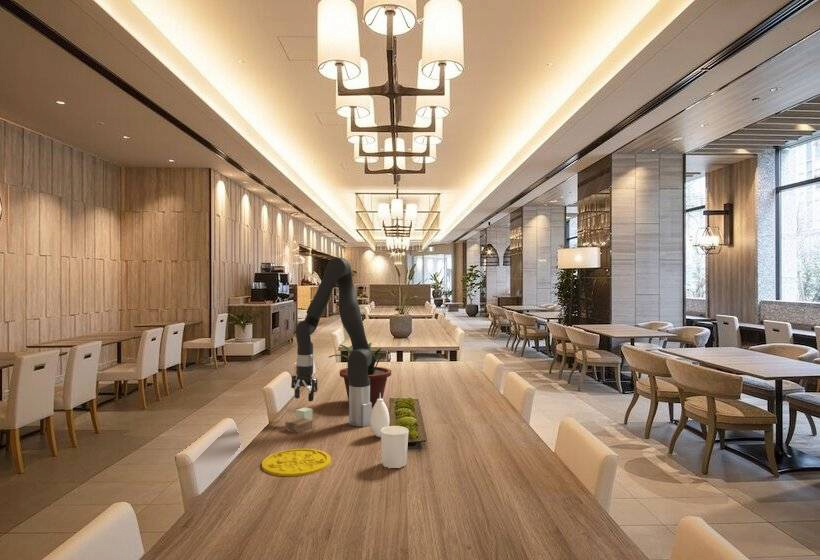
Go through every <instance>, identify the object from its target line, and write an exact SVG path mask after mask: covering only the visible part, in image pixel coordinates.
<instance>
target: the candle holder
mask: <svg viewBox="0 0 820 560" xmlns="http://www.w3.org/2000/svg"><path fill="white" fill-rule="evenodd" d="M409 432H410V430H409V429H408V428H407V427H406V426H400V425H389V426H387V427H384V428H382V429H381V437H380V442H381V462H382V463H381V464H382V466H383V467H384V468H386V467H388V468H387V469H390V468H399V469H401V468H400V467H403V466H404V467H405V465H407V460H408V459H407V458H408V447H409V446H408V442H409ZM404 467H403V468H404Z"/></svg>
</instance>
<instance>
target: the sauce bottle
mask: <svg viewBox="0 0 820 560" xmlns="http://www.w3.org/2000/svg"><path fill="white" fill-rule="evenodd" d="M369 425H370V429H371V432H372V433H373V435H374V436H376V437H377V438H381V429H382V428H384V427H387V426H390V413H389V410H388V407H387V405H386V403H385V402H384V398H383V399H381V394H380V398H379V399H377V402H376V403H375V405H374V407H373V408H372V413H371V418H370V424H369Z"/></svg>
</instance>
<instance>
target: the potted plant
mask: <svg viewBox="0 0 820 560" xmlns="http://www.w3.org/2000/svg"><path fill="white" fill-rule="evenodd" d="M368 345H369V348H370V349H371V347H372V342H369V343H368ZM339 346H340V347H342V348H344V349H345V350H346V351H347V352H348V355H349V354H350V353H351V352H352V351H353V349H350V348H352V345H350V346H349V347H350V348H348V347H347V346H346V345H345V344H339ZM381 349H382V348H379V349H377V350H376V351H375V352H374V353H373V354H372V353H371V354H372V362H371V364H370V365H369V366H368V378H369V379H370V402H372V409H373V407H374V405H375V403H376V402H377V399H379V398H380V394H381V399H383V400H384V395H385V389H386V385H387V381H388V378H389V377H391V376H392V369H390V368H387V367H383V366H378V364H379V362H380V360H381V359H382V357H384V356H385V355H386V354H390V353H391V352H389V351H386V352H384V353H382V354H380V355H378V354H379V352H380V351H381ZM377 355H378V356H377ZM332 357H344V358H346V359H348V357H349V356H347V355H344V354H333V355H330V356H328V358H332ZM339 376H340V377H341V378H343V380H344V385H345V386H344V387H345V391H346V395H347V400H348V402H349V379H348V367H346V368H343V369H340V370H339Z"/></svg>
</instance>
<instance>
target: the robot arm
mask: <svg viewBox="0 0 820 560" xmlns="http://www.w3.org/2000/svg"><path fill="white" fill-rule="evenodd" d="M352 272H353V271H352V266H351V264H350V262H349V260H347V259H346V258H344V257H343V258H342V257H335V256H334V257H333V258H331V259H330V260H329V261H327V264H326V267H325V270H324V274H323V276H322V278H321V281H320V283H319V285H318V288H317V290H316V292H315V294H314V296H313V298H312V300H311V301H310V303H309V305H308V307H307V309H306V316H305V317H304V319H303V320H302V321H299V322H298V323H297V324H296V326H295V337H296V343H297V350H296V351H297V354H296V368H295V371H296V372H295V374H294V375H292V376H291V383H290V388H291V389H293V390H294V398H295V399H300V395H301V394H300V392H301V387H303V388H305V389H306V390H307V392H308V402H311V403H312V402H313V401H314V395H315V394H314V393H317V392H318V378H313V377H312V376H313V374H314V344H313V342H312V341H311V335H312V334H314V333H315V331H316V330H317V327H318V326H319V323H320V320H321V318H322V316H323V314H324V312H325V311H326V308H327V306H328V304H329V301H330V298H331V294H332V292H333V289H334V287H335V285H336V284H337V289H338V301H337V302H338V312H339V316H340V320H341V324H342V325H343V328H344V330H345V331H346V334H347V335H348V336H349V339H350V342H351V346H352V347H351V348H352V350H353V351H352V352H351V353H350V354H349V353H348V356H347V357H348V358H347V368H348V379H349V401H348V424H349V426H352V427H363V428H364V427H366V426H368V425H370V418H371V413H372V409H373V408H372V402H370V379H369V378H368V366H369V365H370V364H371V362H372V352H371V348H369V345H368V344H369V343H368V339H367V336H366V332H365V328H364V327H365V326H364V323H363V322H364V321H363V318H362V313H361V309H360V305H359V301H358V297H357V294H356V291H355V286H354V281H353V280H354V279H353V273H352Z"/></svg>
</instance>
